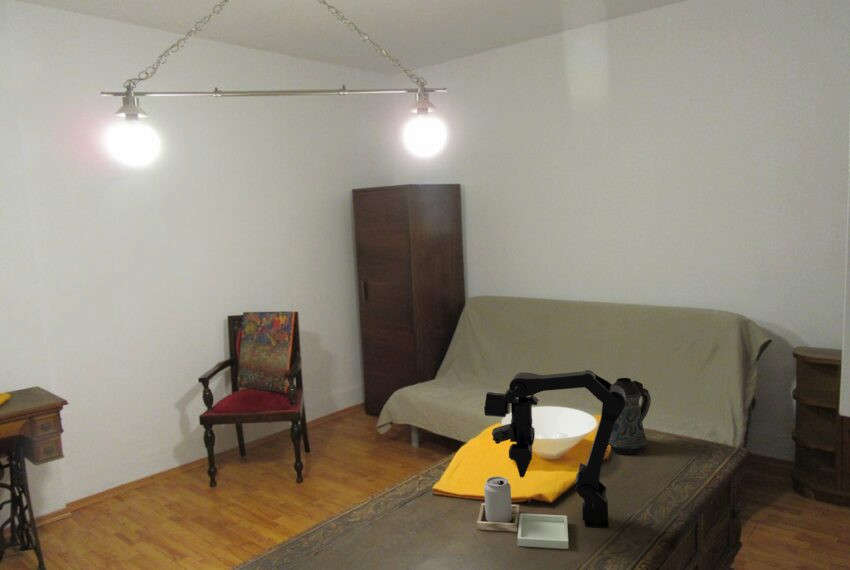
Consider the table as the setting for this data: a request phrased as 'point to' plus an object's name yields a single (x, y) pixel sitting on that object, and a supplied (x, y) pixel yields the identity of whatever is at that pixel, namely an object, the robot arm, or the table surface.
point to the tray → (543, 531)
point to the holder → (498, 525)
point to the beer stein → (630, 420)
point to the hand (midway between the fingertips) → (522, 470)
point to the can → (498, 500)
